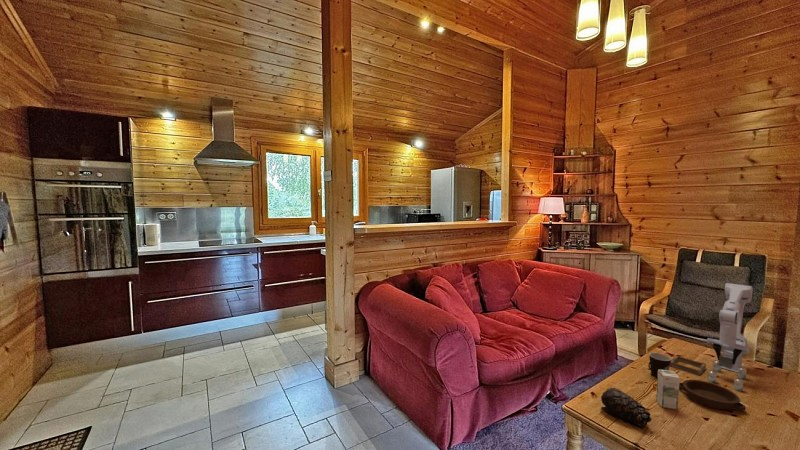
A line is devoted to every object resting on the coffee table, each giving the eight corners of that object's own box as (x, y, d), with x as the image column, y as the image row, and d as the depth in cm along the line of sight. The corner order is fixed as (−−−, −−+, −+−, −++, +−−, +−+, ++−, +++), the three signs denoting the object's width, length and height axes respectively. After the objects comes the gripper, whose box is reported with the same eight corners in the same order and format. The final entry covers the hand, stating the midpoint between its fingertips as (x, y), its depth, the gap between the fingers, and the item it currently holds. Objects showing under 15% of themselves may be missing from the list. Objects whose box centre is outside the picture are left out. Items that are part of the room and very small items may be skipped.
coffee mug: (662, 371, 168) (663, 353, 168) (674, 381, 160) (675, 361, 159) (638, 370, 170) (638, 352, 169) (649, 379, 161) (649, 360, 160)
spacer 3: (737, 376, 164) (738, 366, 163) (746, 378, 161) (747, 368, 161) (736, 378, 162) (737, 368, 162) (745, 380, 160) (746, 370, 159)
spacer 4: (734, 387, 154) (735, 377, 153) (743, 390, 151) (744, 380, 151) (733, 389, 152) (733, 379, 152) (742, 392, 150) (742, 382, 149)
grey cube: (720, 362, 164) (721, 352, 163) (733, 366, 160) (734, 356, 160) (718, 365, 161) (719, 355, 160) (731, 369, 157) (732, 359, 157)
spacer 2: (713, 368, 171) (713, 359, 171) (721, 371, 169) (721, 361, 168) (712, 370, 169) (712, 361, 169) (720, 372, 167) (720, 363, 166)
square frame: (676, 359, 181) (676, 355, 181) (705, 368, 171) (705, 364, 171) (669, 366, 174) (669, 361, 174) (699, 375, 164) (699, 371, 164)
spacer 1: (708, 379, 161) (709, 369, 161) (716, 381, 159) (717, 371, 158) (706, 381, 159) (707, 371, 159) (715, 384, 157) (715, 373, 157)
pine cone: (647, 435, 123) (649, 409, 123) (596, 411, 138) (597, 388, 137) (657, 423, 130) (658, 399, 129) (607, 401, 144) (608, 379, 143)
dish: (740, 422, 130) (741, 410, 130) (671, 396, 148) (671, 385, 148) (749, 406, 140) (750, 394, 140) (683, 383, 158) (683, 373, 158)
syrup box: (671, 402, 143) (673, 370, 142) (678, 410, 137) (679, 377, 136) (656, 400, 145) (657, 368, 144) (661, 408, 139) (663, 375, 138)
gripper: (705, 331, 163) (704, 358, 164) (748, 341, 151) (746, 370, 152) (709, 328, 167) (707, 354, 168) (750, 337, 155) (748, 365, 156)
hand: (726, 361), depth 160 cm, fingers closed on grey cube, 4 cm apart
